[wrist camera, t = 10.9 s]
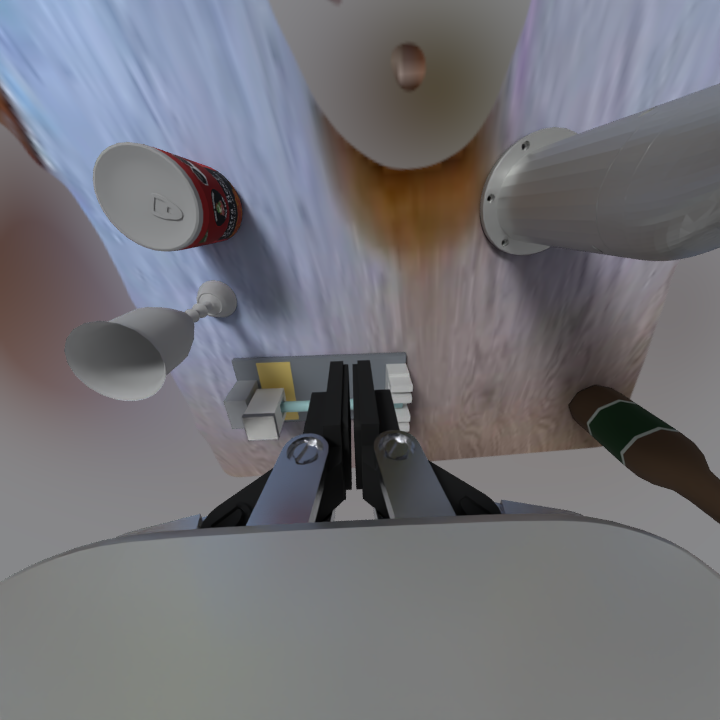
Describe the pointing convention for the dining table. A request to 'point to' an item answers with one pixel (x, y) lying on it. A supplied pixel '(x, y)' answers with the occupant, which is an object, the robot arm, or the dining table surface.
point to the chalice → (141, 344)
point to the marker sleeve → (264, 415)
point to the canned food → (164, 198)
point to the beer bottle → (647, 446)
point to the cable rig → (314, 382)
